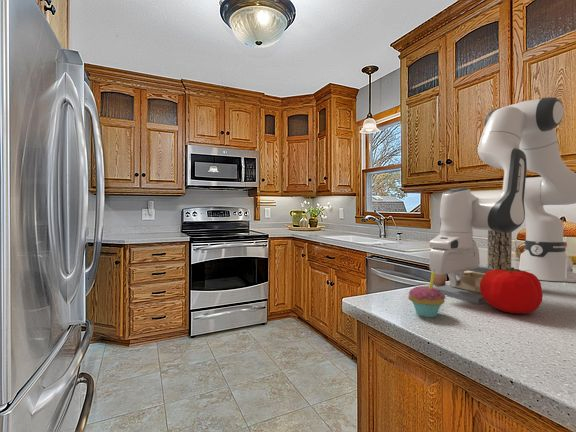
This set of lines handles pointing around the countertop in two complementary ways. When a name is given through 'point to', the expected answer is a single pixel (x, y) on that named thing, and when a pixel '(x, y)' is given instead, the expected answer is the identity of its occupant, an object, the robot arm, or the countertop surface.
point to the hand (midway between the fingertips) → (455, 285)
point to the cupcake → (426, 299)
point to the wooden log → (499, 249)
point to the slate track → (463, 293)
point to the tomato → (511, 290)
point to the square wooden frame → (471, 281)
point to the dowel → (439, 280)
